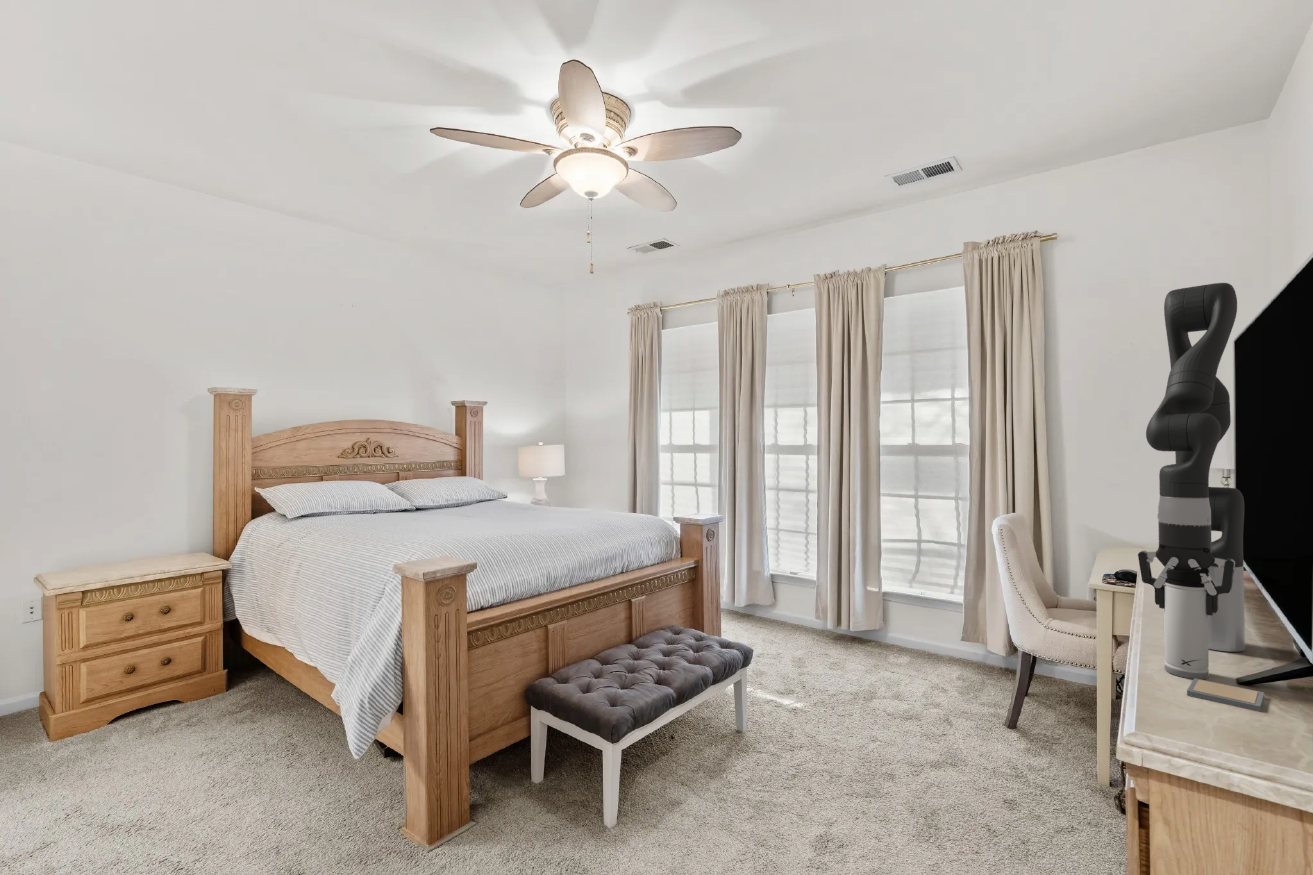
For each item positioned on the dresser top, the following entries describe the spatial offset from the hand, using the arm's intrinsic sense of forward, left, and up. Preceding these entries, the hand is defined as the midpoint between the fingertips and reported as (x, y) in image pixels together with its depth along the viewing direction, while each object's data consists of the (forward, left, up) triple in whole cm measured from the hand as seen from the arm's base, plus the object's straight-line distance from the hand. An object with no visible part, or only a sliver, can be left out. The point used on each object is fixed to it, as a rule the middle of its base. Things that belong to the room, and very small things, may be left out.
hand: (1185, 610), depth 116 cm
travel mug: (0, 0, -12) cm, 12 cm away
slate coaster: (+8, +6, -12) cm, 16 cm away
